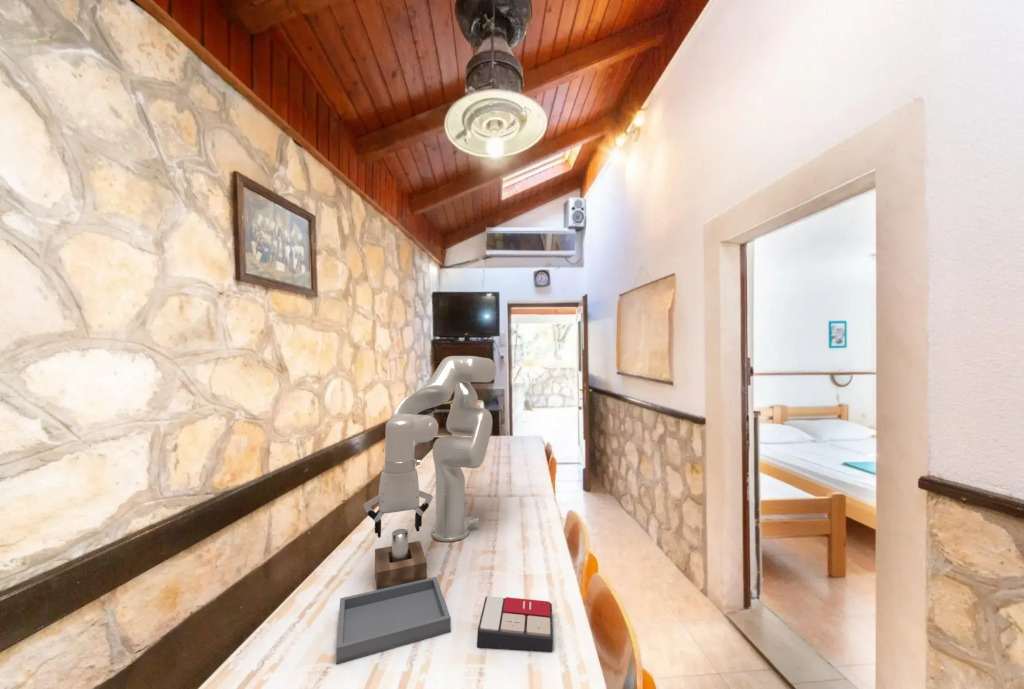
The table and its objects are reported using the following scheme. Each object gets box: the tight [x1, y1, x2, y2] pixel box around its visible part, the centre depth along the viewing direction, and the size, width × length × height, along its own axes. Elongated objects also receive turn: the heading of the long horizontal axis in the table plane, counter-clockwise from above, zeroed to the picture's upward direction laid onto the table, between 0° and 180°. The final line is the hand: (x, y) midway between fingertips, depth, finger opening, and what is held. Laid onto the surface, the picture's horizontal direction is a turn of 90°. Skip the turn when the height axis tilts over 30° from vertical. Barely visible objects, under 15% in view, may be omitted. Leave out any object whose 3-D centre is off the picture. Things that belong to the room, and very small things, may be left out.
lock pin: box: [391, 528, 409, 563], centre depth 100 cm, size 4×4×12 cm
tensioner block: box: [374, 540, 428, 590], centre depth 100 cm, size 12×12×6 cm
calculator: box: [476, 595, 554, 653], centre depth 81 cm, size 11×4×15 cm
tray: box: [336, 576, 452, 665], centre depth 84 cm, size 22×16×3 cm
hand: (398, 532), depth 99 cm, fingers open, 9 cm apart
